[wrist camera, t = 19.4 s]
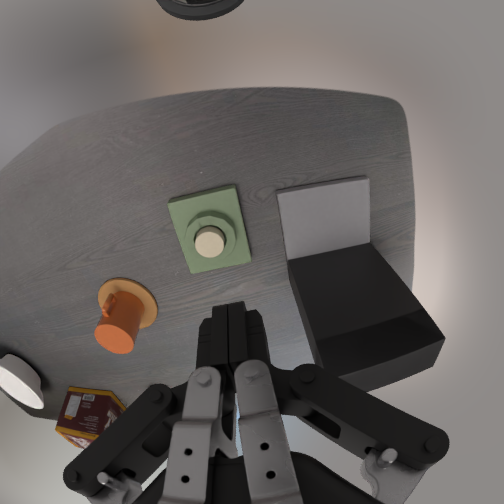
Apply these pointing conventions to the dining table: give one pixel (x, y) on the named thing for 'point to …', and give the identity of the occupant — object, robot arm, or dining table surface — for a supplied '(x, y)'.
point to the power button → (209, 242)
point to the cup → (120, 322)
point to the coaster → (136, 290)
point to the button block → (211, 214)
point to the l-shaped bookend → (351, 288)
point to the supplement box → (87, 415)
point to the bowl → (21, 381)
